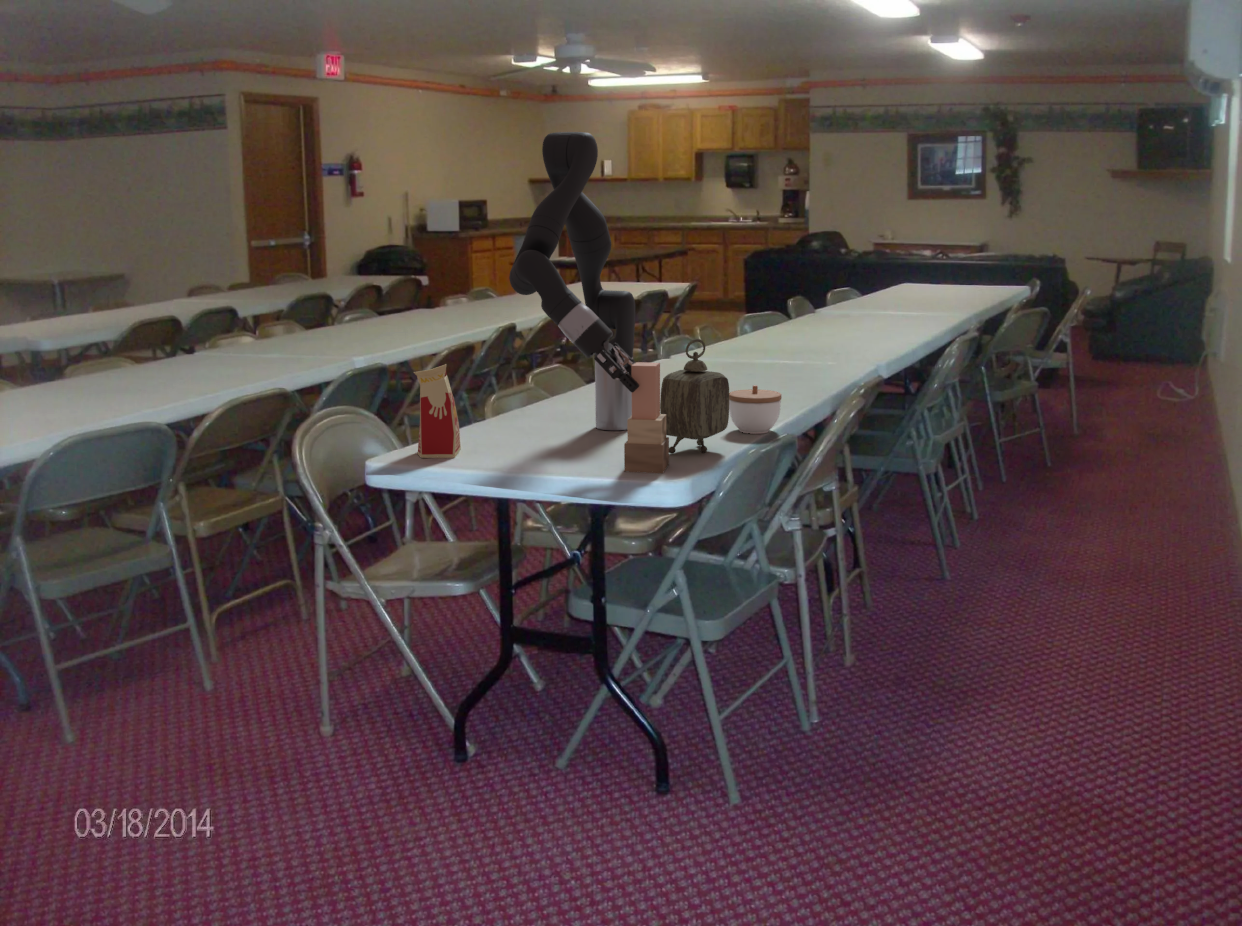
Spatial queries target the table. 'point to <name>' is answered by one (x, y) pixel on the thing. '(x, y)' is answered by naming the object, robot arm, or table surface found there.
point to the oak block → (646, 430)
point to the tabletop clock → (694, 401)
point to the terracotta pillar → (646, 390)
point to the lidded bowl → (754, 409)
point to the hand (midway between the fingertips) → (640, 386)
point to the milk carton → (437, 416)
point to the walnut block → (646, 457)
